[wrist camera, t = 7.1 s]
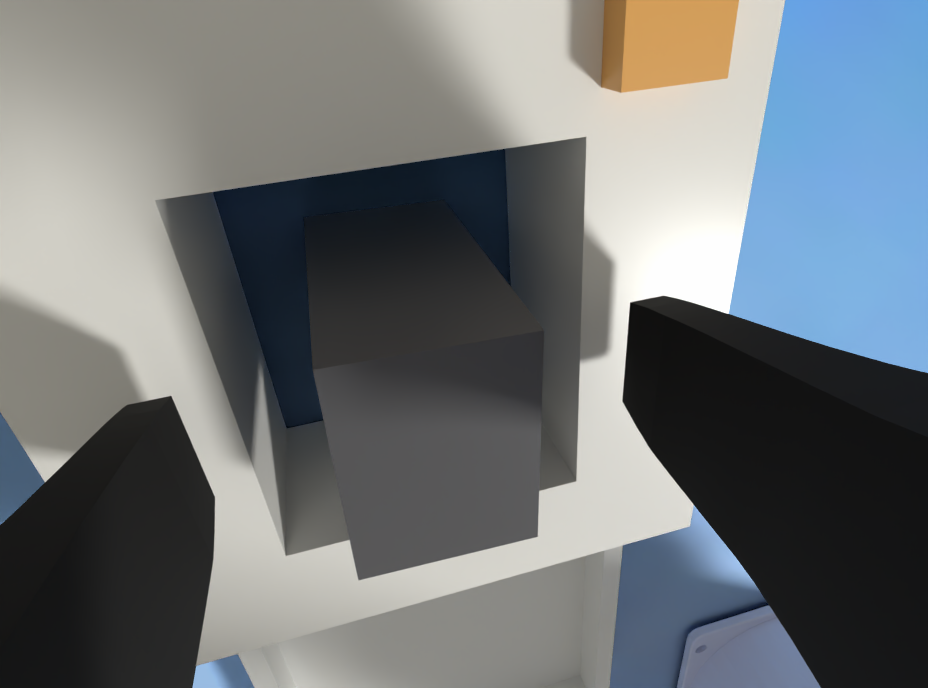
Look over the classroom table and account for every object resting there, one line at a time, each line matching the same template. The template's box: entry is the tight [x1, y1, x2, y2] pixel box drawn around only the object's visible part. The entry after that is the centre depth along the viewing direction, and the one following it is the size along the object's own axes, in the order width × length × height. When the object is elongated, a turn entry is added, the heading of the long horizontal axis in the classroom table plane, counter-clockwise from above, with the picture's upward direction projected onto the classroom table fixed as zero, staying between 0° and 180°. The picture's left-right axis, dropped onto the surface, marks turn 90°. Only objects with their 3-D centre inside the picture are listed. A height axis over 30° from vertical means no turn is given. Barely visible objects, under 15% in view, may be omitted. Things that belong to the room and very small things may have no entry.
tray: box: [238, 545, 623, 688], centre depth 19 cm, size 11×11×2 cm
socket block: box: [0, 0, 785, 666], centre depth 11 cm, size 12×12×5 cm
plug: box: [304, 200, 544, 580], centre depth 11 cm, size 4×3×6 cm
